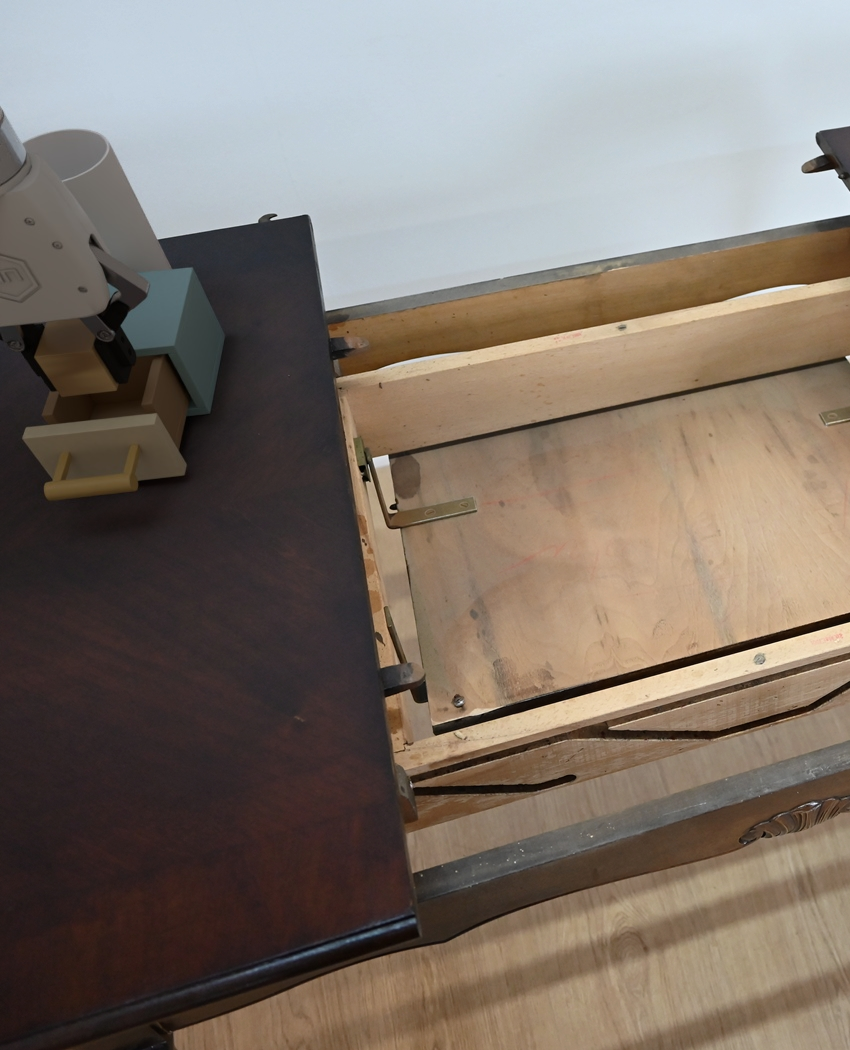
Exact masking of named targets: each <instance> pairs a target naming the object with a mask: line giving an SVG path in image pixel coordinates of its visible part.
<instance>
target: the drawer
mask: <svg viewBox="0 0 850 1050" xmlns="http://www.w3.org/2000/svg"><path fill="white" fill-rule="evenodd" d="M189 401H190V394H189V392H188V390H187V388H186V386H185V384H184V383H183V381H182V379H181V377H180V375H179V373H178V371H177V370H176V368H175V366H174V364H173V362H172V360H171V358H170V356H169V355H168V354H159V355H150V356H140V357H136V363H135V365H134V366H132V368H131V372H130V376H129V379H128V383H125V384H119V385H118V388H117V391H110V392H101V393H93V394H84V395H75V396H67V397H61V395H60V394H59V393H58V391H55V392H51V391H50V390H49V392H48V395H47V398H46V401H45V403H44V407H43V410H42V412H41V417H42V418H43V420H44V421H45V422H46V424H45V425H44V424H43V425H36V426H26V427H25V429H24V432H23V435H22V437H21V439H22V440H23V442H24V444H25V445H26V446H27V447H28V448H29V450H30V451H31V453H32V454H33V455H34V457H35V458H36V459H37V460H38V462H39V463H40V465H41V466H42V467H43V469H44V470H45V471H46V473H47V474H48V476H50V478H51V479H52V480H51V481H47V482H45V483H44V486H43V493H44V496H45V498H46V500H48V501H50V502H53V501H63V500H71V499H79V498H88V497H89V498H90V497H96V496H97V497H98V496H106V495H114V494H123V493H131V492H136V491H138V488H139V481H149V480H155V479H164V478H172V477H173V478H174V477H182V476H185V475H186V471H187V466H188V465H187V462H186V461H185V459H184V457H183V455H182V454H181V452H180V446H181V443H182V438H183V437H182V436H183V433H184V428H185V423H186V419H187V416H186V415H187V410H188V405H189Z"/></svg>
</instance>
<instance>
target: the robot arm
mask: <svg viewBox="0 0 850 1050" xmlns="http://www.w3.org/2000/svg"><path fill="white" fill-rule="evenodd" d="M22 142H23V141H21V139H20V137H19V135H18V134H17V132H16V130H15V129H14V127H13V124H12V123H11V121H10V119H9V118H8V116H7V115H6V113H5V111H4V109H3V108H2V107H1V106H0V341H1V342H4V345H5V347H6V348H7V349H8V350H9V351H12V352H15V353H20V354H21V355H22V357H23V358H24V359H25V361H26V362H27V364H28V365H29V366H30V368H31V369H32V371H33V372H34V374H35V376H37V377H39V378H41V380H42V381H43V383H44V384H45V386H46V387H47V388H48V390H49V392H50V391H51V392H55V391H57V390H56V388H55V387H54V385H53V384H52V382H51V381H50V379H49V378H48V377H47V375H46V374H45V372H44V371H43V369H42V368H41V366H40V365H39V364H38V362H37V361H36V359H35V358H34V356H35V353H36V350H37V348H38V345H39V342H40V339H41V337H42V334H43V331H44V328H45V325H44V323H47V322H52V321H61V320H70V319H78V318H79V319H80V320H81V321H82V322H83V323H84V324H85V325H86V327H87V328H88V329H89V330H90V331H91V332H92V333H93V334H94V335H95V336H96V339H95V342H94V347H95V349H96V351H97V352H98V354H99V356H100V357H101V359H102V360H103V362H104V364H105V365H106V367H107V369H108V370H109V372H110V373H111V375H112V377H113V378H114V380H115V381H116V382H117V383H118V384H125V383H128V379H129V376H130V372H131V368H132V366H134V365H135V363H136V352H135V350H134V348H133V346H132V345H131V343H130V341H129V339H128V338H127V336H126V334H125V333H124V331H123V329H122V327H121V324H122V323H123V321H124V320H125V318H126V317H127V315H128V312H130V311H131V310H132V309H134V308H135V307H137V306H138V305H139V304H140V303H141V302H142V301H144V300H145V299H146V298H147V296H148V292H149V288H150V283H149V281H148V280H146V279H145V278H143V277H142V276H140V275H139V274H137V273H136V272H134V271H133V270H131V269H130V268H128V267H127V266H125V265H124V264H122V263H121V262H119V261H117V260H116V259H114V258H113V257H112V255H111V254H110V252H109V250H108V248H107V246H106V245H105V243H104V241H103V239H102V238H101V236H100V235H99V233H98V231H97V230H96V228H95V227H94V225H93V224H92V222H91V221H90V219H89V218H88V216H87V215H86V213H85V212H84V210H83V209H82V207H81V206H80V205H79V203H78V202H77V200H76V199H75V197H74V196H73V195H72V194H71V192H70V191H69V190H68V188H67V187H66V186H65V185H64V183H63V182H62V181H61V180H60V179H59V177H58V176H57V175H56V174H55V173H54V171H53V170H52V169H51V168H50V167H49V166H48V165H47V164H46V163H45V161H44V160H43V159H42V158H41V157H40V156H39V155H38V154H36V153H27V151H26V150H25V148H24V146H23V144H22ZM107 283H108V284H110V285H111V286H113V287H115V288H116V289H117V290H119V291H116V292H115V293H114V294H113V295H112V297H111V298H110V292H109V288H108V284H107Z"/></svg>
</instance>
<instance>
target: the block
mask: <svg viewBox="0 0 850 1050" xmlns="http://www.w3.org/2000/svg"><path fill="white" fill-rule="evenodd" d="M45 325H46V326H45ZM45 325H44V327H45V328H44V331H43V334H42V337H41V339H40V342H39V345H38V348H37V350H36V353H35V356H34V358H35V359H36V361H37V362H38V364H39V365H40V366H41V368H42V369H43V371H44V372H45V374H46V375H47V377H48V378H49V379H50V381H51V382H52V384H53V385H54V387H55V388H56V390H57V391H58V393H59V394H60V395H61V397H67V396H75V395H84V394H93V393H101V392H110V391H117V388H118V385H119V384H118V383H117V382H116V381H115V380H114V378H113V377H112V375H111V373H110V372H109V370H108V369H107V367H106V365H105V364H104V362H103V360H102V359H101V357H100V356H99V354H98V352H97V351H96V349H95V347H94V342H95V339H96V336H95V335H94V334H93V333H92V332H91V331H90V330H89V329H88V328H87V327H86V325H85V324H84V323H83V322H82V321H81V320H80V319H79V318H78V319H70V320H61V321H52V322H45Z"/></svg>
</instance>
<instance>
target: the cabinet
mask: <svg viewBox="0 0 850 1050" xmlns="http://www.w3.org/2000/svg"><path fill="white" fill-rule="evenodd" d="M137 274H139V275H140V276H142V277H143V278H145V279H146V280H148V281H149V283H150V288H149V292H148V296H147V298H146V299H145V300H144V301H142V302H141V303H140V304H139V305H138V306H137V307H135V308H134V309H132V310H131V311H130V312H128V315H127V317H126V318H125V320H124V321H123V323H122V324H121V327H122V329H123V331H124V333H125V334H126V336H127V338H128V339H129V341H130V343H131V345H132V346H133V348H134V350H135V352H136V357H140V356H150V355H159V354H168V355H169V356H170V358H171V360H172V362H173V364H174V366H175V368H176V370H177V371H178V373H179V375H180V377H181V379H182V381H183V383H184V384H185V386H186V388H187V390H188V392H189V394H190V401H189V405H188V410H187V415H186V417H193V416H194V417H195V416H203V415H210V414H211V411H212V406H213V401H214V396H215V390H216V385H217V379H218V376H219V375H218V374H219V369H220V364H221V360H222V354H223V349H224V345H225V339H226V335H225V332H224V330H223V328H222V326H221V324H220V322H219V319H218V318H217V315H216V314H215V311H214V309H213V307H212V305H211V303H210V301H209V298H208V296H207V294H206V292H205V290H204V288H203V286H202V283H201V281H200V280H199V277H198V275H197V273H196V271H195V269H194V267H192V266H191V267H182V268H172V269H170V270H159V271H149V272H139V273H137ZM107 284H108V283H107ZM108 288H109V292H110V298H111V297H112V295H113V294H114V293H115V292H116V291H119V290H117V289H116V288H115V287H113V286H111V285H110V284H108ZM45 326H46V324H45V325H44V327H45Z"/></svg>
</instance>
